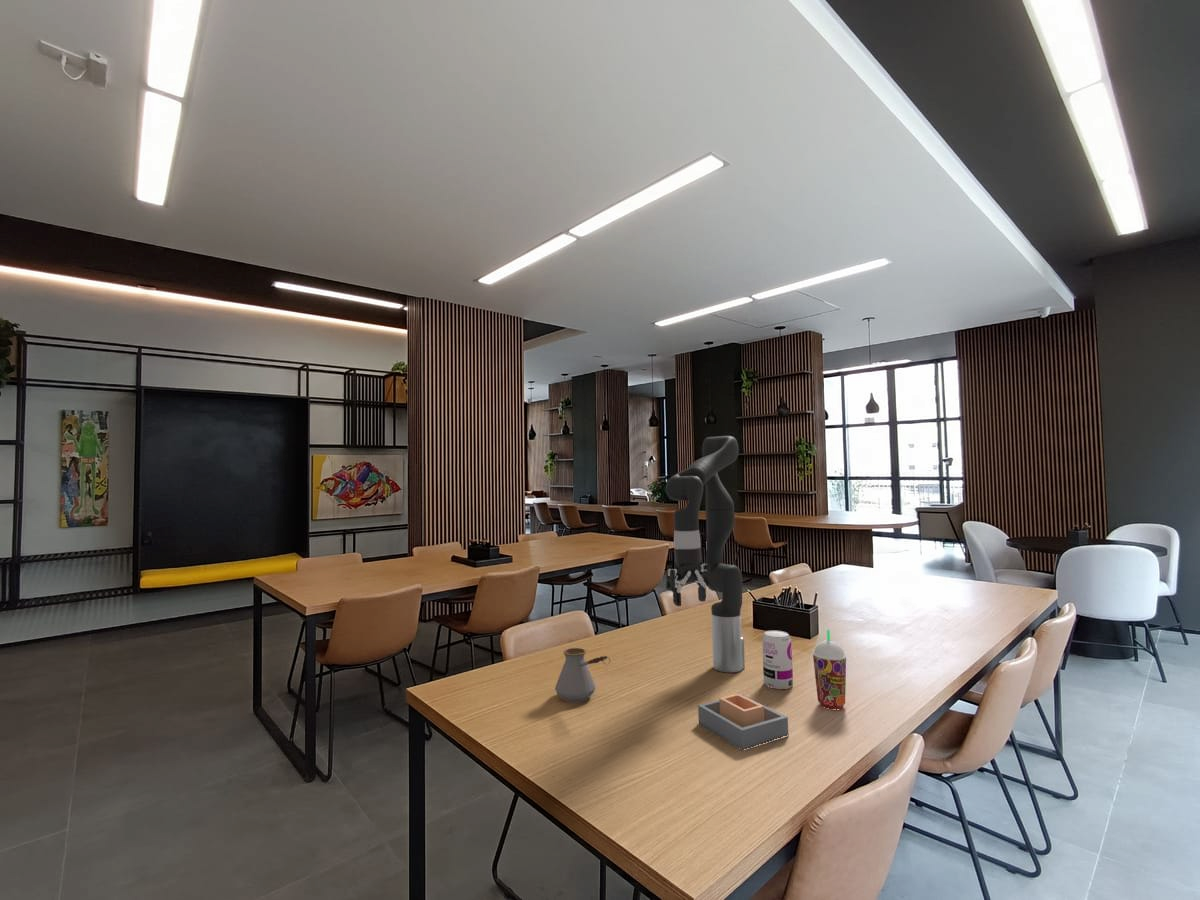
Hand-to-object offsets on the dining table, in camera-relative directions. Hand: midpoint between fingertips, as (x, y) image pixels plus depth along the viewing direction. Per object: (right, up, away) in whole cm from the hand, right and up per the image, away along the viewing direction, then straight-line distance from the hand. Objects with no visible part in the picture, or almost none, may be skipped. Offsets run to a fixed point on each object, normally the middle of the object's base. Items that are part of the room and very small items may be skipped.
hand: (690, 603), depth 155 cm
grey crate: (+9, -25, -22) cm, 34 cm away
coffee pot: (-30, -27, -4) cm, 40 cm away
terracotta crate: (+9, -24, -22) cm, 34 cm away
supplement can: (+27, -26, +6) cm, 38 cm away
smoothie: (+36, -25, -10) cm, 45 cm away
